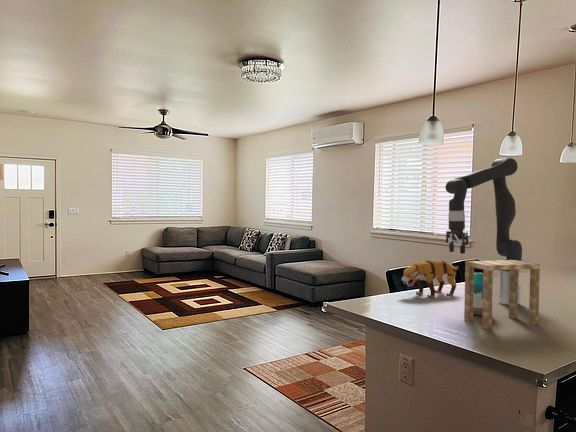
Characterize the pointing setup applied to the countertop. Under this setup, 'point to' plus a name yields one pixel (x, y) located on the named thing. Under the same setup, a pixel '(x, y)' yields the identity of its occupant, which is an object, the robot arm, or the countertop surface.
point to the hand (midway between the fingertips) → (456, 252)
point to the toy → (430, 275)
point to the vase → (478, 294)
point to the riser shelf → (513, 289)
